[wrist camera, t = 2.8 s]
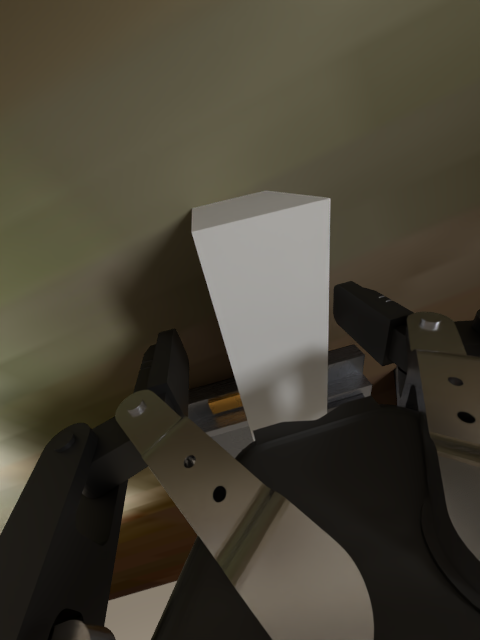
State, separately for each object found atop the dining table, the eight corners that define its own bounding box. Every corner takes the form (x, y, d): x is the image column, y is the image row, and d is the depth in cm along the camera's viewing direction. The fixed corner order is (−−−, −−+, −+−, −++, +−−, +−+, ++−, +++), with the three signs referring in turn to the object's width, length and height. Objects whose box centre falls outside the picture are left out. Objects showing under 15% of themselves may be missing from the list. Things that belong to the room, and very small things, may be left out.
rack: (179, 393, 16) (176, 429, 14) (354, 344, 17) (381, 371, 14) (229, 490, 25) (233, 523, 22) (343, 456, 25) (359, 484, 23)
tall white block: (192, 208, 11) (191, 232, 6) (265, 190, 11) (330, 197, 6) (235, 364, 16) (256, 450, 11) (284, 351, 16) (326, 429, 11)
